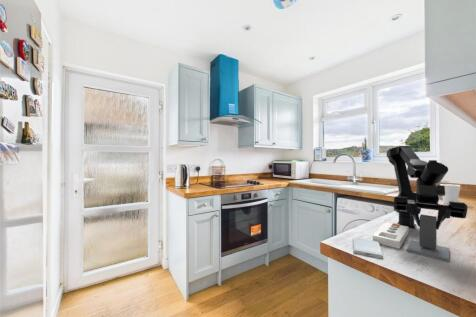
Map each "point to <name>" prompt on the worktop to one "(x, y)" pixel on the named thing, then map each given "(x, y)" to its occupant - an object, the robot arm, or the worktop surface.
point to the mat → (429, 251)
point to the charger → (428, 231)
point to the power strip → (391, 235)
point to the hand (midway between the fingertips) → (428, 227)
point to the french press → (441, 183)
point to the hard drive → (367, 247)
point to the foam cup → (451, 193)
